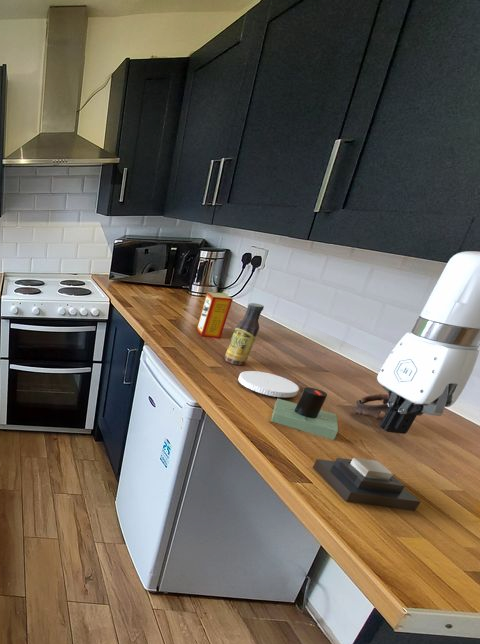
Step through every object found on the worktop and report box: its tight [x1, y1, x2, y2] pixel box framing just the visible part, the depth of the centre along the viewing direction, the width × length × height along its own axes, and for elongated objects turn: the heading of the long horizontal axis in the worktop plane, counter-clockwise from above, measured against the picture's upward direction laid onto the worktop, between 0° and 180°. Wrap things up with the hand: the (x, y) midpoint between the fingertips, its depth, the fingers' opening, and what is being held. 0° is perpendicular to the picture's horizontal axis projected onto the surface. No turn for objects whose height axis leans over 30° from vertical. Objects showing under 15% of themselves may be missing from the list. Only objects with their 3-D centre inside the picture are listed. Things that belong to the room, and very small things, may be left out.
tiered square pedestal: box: [312, 457, 421, 512], centre depth 76 cm, size 11×10×4 cm
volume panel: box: [270, 398, 339, 441], centre depth 98 cm, size 12×10×3 cm
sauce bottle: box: [224, 302, 265, 366], centre depth 129 cm, size 6×6×20 cm
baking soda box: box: [195, 291, 234, 339], centre depth 157 cm, size 10×6×16 cm
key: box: [350, 457, 394, 480], centre depth 75 cm, size 4×4×2 cm
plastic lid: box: [238, 370, 300, 399], centre depth 114 cm, size 14×14×2 cm
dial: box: [295, 386, 328, 418], centre depth 96 cm, size 4×4×6 cm
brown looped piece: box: [353, 393, 390, 419], centre depth 100 cm, size 12×10×8 cm
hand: (392, 430), depth 71 cm, fingers closed
